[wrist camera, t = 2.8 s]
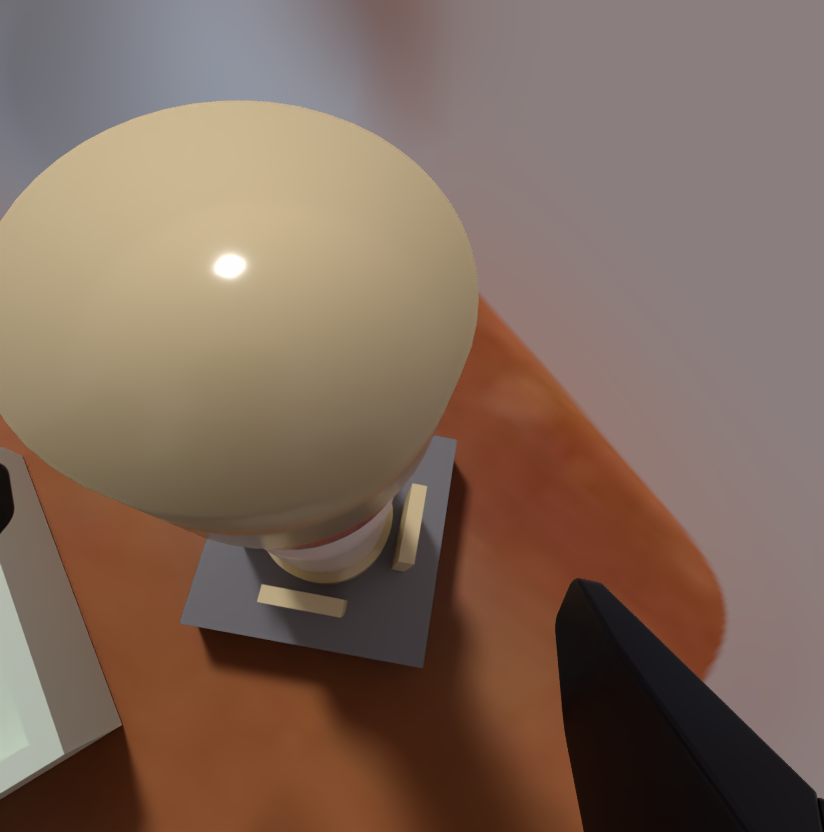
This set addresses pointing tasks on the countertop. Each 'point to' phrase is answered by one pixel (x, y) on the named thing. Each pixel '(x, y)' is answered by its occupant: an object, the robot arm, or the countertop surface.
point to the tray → (42, 649)
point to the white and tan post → (238, 325)
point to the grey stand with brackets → (339, 603)
